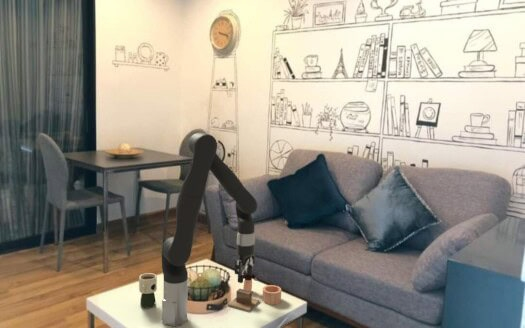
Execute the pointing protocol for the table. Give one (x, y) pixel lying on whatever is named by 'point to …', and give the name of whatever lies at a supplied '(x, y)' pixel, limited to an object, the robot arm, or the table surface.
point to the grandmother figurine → (248, 281)
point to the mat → (243, 310)
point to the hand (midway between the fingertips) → (245, 278)
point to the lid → (243, 300)
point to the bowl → (271, 294)
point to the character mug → (148, 289)
